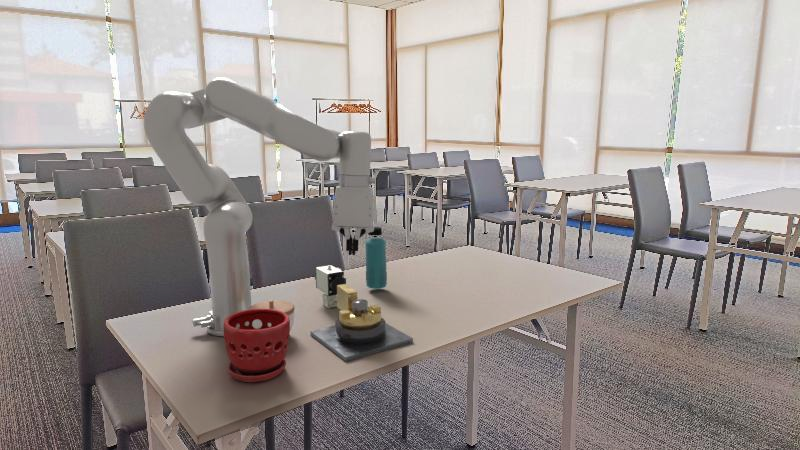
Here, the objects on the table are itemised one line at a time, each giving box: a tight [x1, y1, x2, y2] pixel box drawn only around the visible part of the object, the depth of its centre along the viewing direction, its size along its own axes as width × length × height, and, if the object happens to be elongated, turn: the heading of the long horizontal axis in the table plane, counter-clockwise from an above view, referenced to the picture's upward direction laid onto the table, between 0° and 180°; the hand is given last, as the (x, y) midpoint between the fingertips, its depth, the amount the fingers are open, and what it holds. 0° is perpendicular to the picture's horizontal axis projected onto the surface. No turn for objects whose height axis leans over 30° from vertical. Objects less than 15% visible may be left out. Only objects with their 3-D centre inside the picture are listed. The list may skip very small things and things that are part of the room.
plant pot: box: [223, 309, 291, 383], centre depth 107 cm, size 13×13×12 cm
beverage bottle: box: [365, 226, 388, 290], centre depth 161 cm, size 6×7×20 cm
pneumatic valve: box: [314, 264, 347, 310], centre depth 147 cm, size 6×12×12 cm, turn 32°
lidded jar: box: [249, 299, 295, 332], centre depth 126 cm, size 11×11×9 cm
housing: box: [310, 317, 414, 362], centre depth 125 cm, size 18×18×4 cm
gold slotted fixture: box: [337, 283, 382, 330], centre depth 127 cm, size 17×10×6 cm, turn 28°
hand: (352, 253), depth 132 cm, fingers closed
